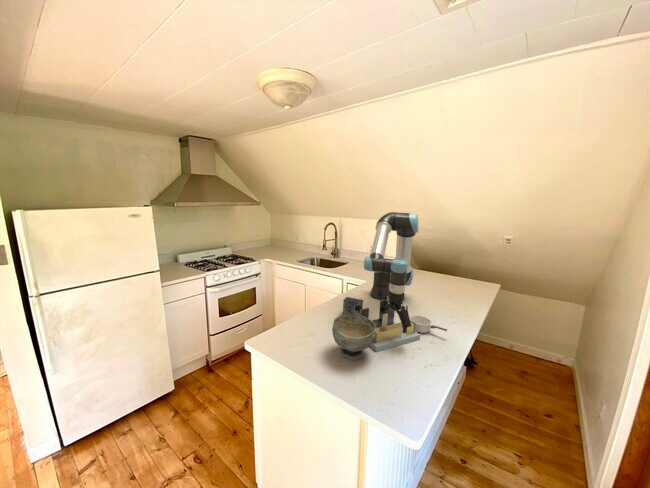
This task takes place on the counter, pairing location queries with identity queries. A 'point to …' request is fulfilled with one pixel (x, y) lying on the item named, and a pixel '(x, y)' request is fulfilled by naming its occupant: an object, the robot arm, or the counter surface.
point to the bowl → (353, 334)
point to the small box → (350, 305)
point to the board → (394, 342)
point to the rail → (391, 332)
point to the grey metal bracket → (378, 322)
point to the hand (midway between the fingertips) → (393, 331)
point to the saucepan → (423, 324)
